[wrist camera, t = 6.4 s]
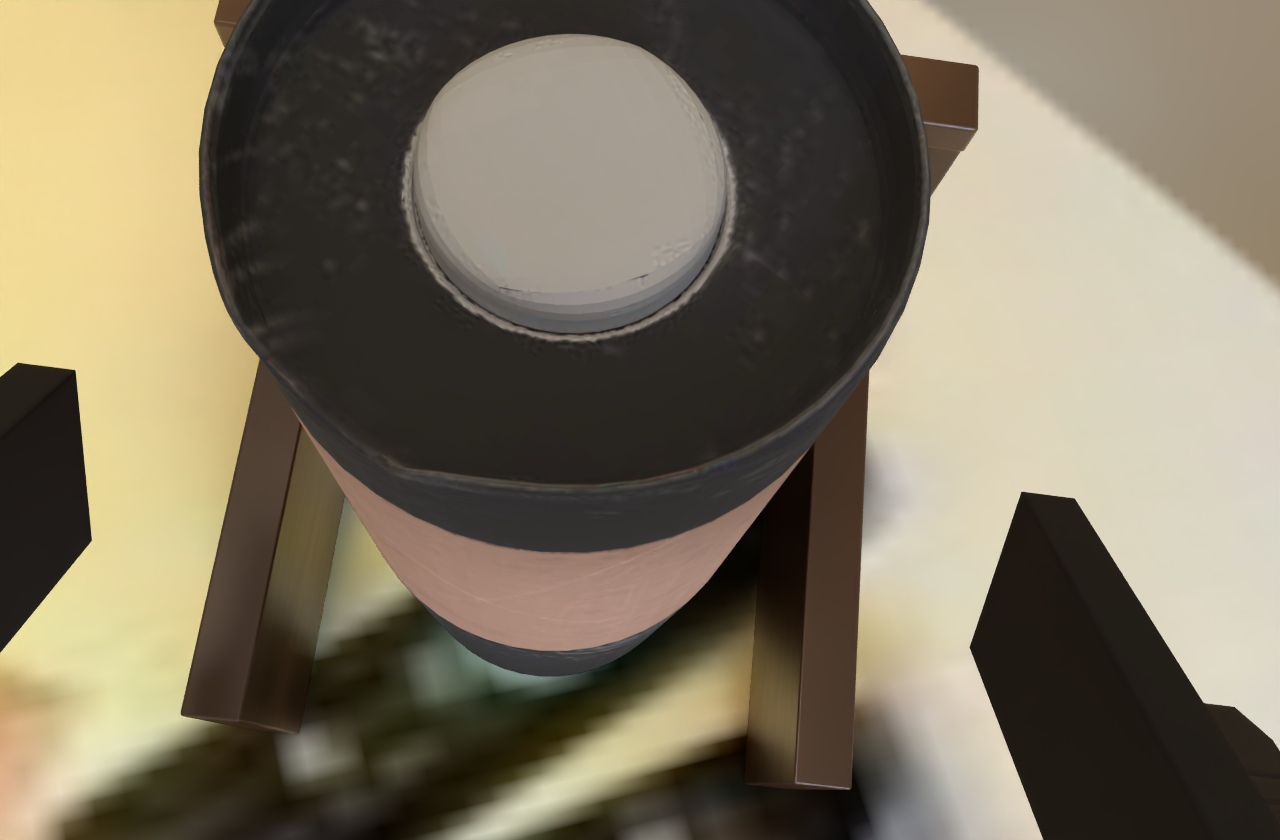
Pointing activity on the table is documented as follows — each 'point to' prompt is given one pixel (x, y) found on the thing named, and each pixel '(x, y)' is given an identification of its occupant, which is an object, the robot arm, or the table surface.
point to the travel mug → (562, 279)
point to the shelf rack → (788, 572)
